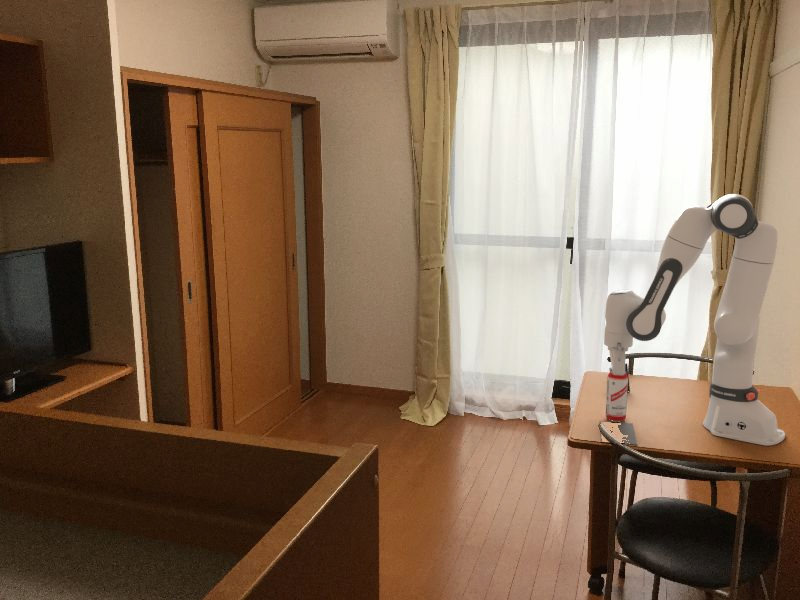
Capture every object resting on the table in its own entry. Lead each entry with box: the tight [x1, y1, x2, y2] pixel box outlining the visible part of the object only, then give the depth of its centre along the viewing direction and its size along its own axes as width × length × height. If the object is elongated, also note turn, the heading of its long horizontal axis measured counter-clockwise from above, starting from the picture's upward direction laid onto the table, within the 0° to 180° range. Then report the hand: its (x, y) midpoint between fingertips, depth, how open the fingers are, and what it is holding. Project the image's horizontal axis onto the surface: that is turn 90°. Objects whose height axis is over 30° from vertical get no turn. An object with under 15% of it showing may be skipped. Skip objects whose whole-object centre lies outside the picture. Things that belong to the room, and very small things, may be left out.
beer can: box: [605, 370, 629, 422], centre depth 220 cm, size 6×6×16 cm
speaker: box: [609, 362, 631, 393], centre depth 248 cm, size 8×6×10 cm
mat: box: [610, 422, 638, 446], centre depth 210 cm, size 17×10×1 cm, turn 166°
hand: (616, 380), depth 225 cm, fingers closed
